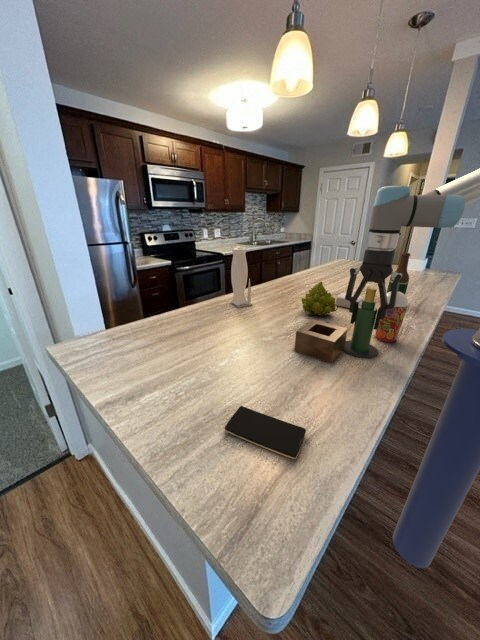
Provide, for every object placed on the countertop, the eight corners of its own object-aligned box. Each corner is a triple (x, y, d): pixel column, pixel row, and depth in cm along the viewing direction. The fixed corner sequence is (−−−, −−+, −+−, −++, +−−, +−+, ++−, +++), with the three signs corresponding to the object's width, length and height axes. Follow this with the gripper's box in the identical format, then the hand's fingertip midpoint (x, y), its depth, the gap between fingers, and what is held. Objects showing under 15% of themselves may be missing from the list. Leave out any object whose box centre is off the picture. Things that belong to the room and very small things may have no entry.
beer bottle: (406, 305, 125) (420, 254, 115) (392, 306, 123) (405, 254, 114) (394, 300, 132) (406, 251, 122) (380, 301, 130) (392, 251, 121)
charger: (368, 313, 114) (335, 305, 123) (375, 308, 120) (343, 301, 130) (370, 303, 112) (336, 296, 121) (377, 298, 118) (344, 291, 128)
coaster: (381, 348, 85) (381, 347, 85) (372, 362, 77) (373, 361, 77) (347, 338, 92) (347, 337, 92) (336, 350, 84) (336, 349, 84)
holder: (344, 347, 85) (348, 328, 83) (331, 363, 77) (334, 342, 74) (309, 337, 92) (312, 319, 89) (294, 350, 83) (296, 330, 81)
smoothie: (367, 337, 93) (379, 282, 85) (379, 331, 97) (392, 278, 90) (391, 346, 87) (406, 288, 79) (403, 339, 91) (418, 283, 83)
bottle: (370, 347, 85) (383, 288, 77) (365, 354, 81) (379, 292, 73) (352, 342, 88) (364, 285, 80) (347, 348, 84) (359, 288, 76)
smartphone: (239, 404, 58) (307, 428, 52) (239, 408, 59) (306, 433, 52) (223, 427, 52) (296, 457, 46) (223, 431, 52) (296, 462, 46)
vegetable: (317, 295, 124) (327, 274, 112) (335, 321, 116) (348, 301, 104) (290, 304, 121) (297, 282, 108) (306, 331, 113) (316, 311, 101)
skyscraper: (236, 308, 119) (236, 244, 108) (227, 303, 125) (227, 242, 114) (251, 305, 123) (253, 243, 112) (242, 300, 129) (243, 241, 118)
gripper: (341, 247, 75) (329, 321, 84) (419, 254, 64) (396, 338, 73) (349, 244, 80) (337, 314, 89) (422, 250, 70) (400, 329, 79)
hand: (364, 325), depth 81 cm, fingers open, 6 cm apart
